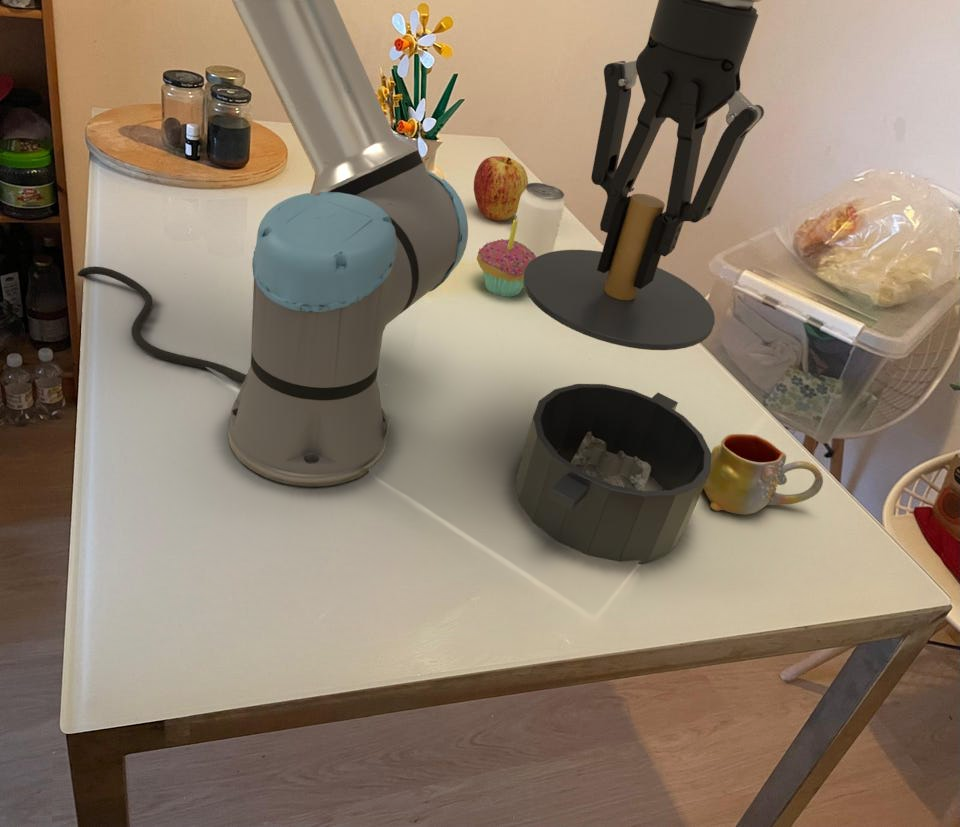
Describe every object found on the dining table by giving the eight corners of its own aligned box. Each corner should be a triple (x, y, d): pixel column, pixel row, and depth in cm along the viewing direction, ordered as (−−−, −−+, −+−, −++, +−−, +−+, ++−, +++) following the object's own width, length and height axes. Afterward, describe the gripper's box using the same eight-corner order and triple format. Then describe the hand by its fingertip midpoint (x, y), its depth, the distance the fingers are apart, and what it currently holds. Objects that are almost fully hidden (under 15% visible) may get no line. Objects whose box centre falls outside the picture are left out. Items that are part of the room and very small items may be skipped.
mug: (701, 511, 86) (724, 460, 82) (694, 469, 92) (715, 420, 88) (815, 535, 86) (843, 486, 82) (801, 493, 92) (827, 445, 88)
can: (535, 281, 123) (554, 203, 116) (497, 264, 125) (514, 187, 118) (555, 268, 127) (574, 193, 121) (518, 253, 130) (536, 178, 123)
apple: (468, 200, 144) (479, 142, 138) (520, 210, 144) (533, 153, 139) (467, 221, 136) (479, 161, 130) (522, 231, 137) (536, 172, 131)
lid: (484, 294, 75) (506, 184, 69) (576, 244, 88) (602, 149, 83) (666, 381, 68) (708, 267, 63) (736, 313, 82) (776, 214, 76)
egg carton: (578, 457, 89) (588, 426, 86) (646, 484, 87) (658, 453, 85) (546, 514, 80) (556, 481, 78) (621, 545, 79) (633, 512, 76)
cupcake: (525, 311, 114) (546, 229, 108) (465, 295, 115) (482, 213, 108) (534, 285, 121) (554, 207, 115) (477, 270, 122) (494, 191, 115)
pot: (465, 512, 79) (482, 441, 74) (579, 419, 95) (599, 356, 91) (623, 611, 72) (653, 540, 68) (716, 493, 89) (746, 429, 84)
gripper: (827, 21, 63) (720, 298, 76) (637, -32, 69) (568, 233, 82) (801, 27, 58) (690, 324, 71) (596, -32, 64) (529, 253, 77)
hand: (624, 275), depth 77 cm, fingers closed on lid, 3 cm apart
